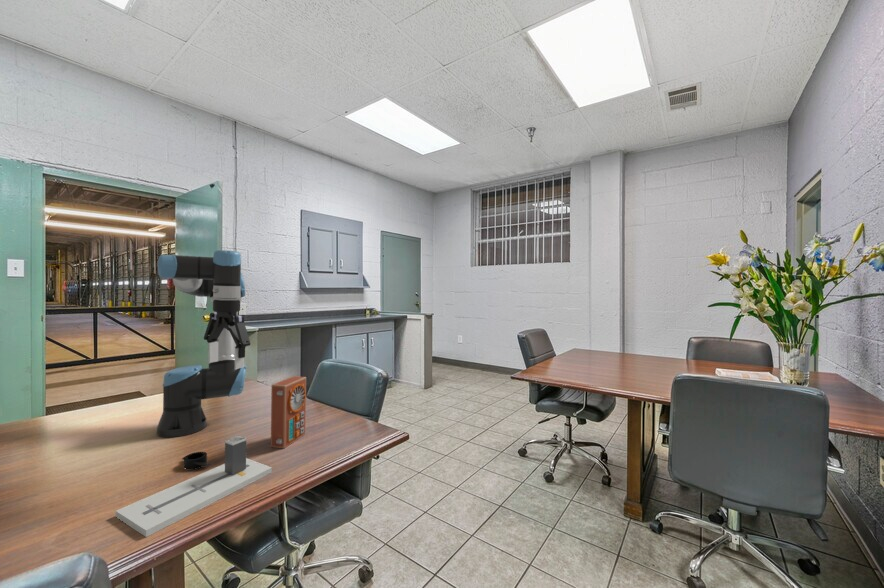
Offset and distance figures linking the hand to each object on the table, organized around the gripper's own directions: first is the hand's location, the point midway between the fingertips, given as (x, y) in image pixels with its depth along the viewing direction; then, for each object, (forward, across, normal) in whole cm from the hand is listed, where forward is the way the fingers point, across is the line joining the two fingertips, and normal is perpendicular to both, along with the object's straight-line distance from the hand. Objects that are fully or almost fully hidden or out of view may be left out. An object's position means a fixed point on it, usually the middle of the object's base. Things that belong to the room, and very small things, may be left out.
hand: (226, 365), depth 114 cm
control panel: (+29, +9, +17) cm, 35 cm away
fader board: (+29, +16, -16) cm, 37 cm away
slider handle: (+27, +16, -7) cm, 32 cm away
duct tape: (+29, -1, -9) cm, 31 cm away
